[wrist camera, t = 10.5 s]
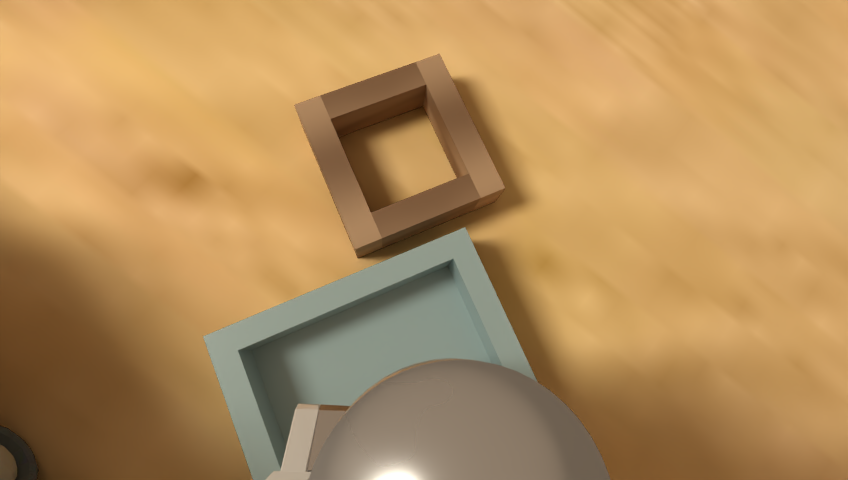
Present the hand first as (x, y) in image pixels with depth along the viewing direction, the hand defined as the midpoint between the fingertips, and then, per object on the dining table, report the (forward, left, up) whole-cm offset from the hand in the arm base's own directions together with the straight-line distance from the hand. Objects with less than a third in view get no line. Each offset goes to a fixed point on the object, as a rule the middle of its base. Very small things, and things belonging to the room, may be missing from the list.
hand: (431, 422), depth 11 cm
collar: (+10, -4, -10) cm, 14 cm away
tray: (0, +1, -10) cm, 10 cm away
